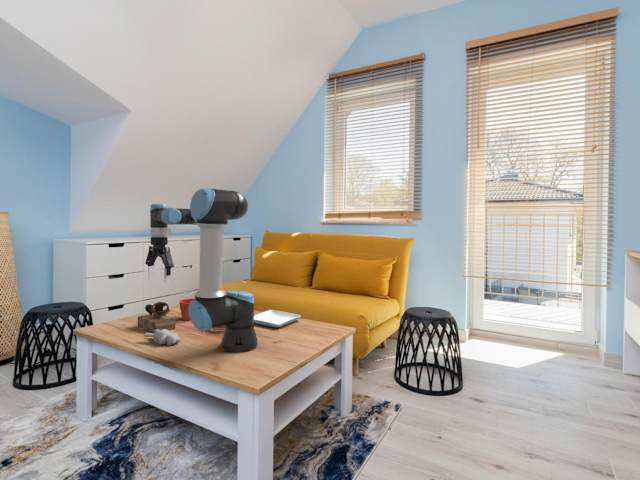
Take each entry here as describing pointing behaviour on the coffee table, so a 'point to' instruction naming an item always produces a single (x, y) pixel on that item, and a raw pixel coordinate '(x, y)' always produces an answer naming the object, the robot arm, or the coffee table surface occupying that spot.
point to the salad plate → (275, 318)
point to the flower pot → (185, 308)
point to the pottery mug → (157, 309)
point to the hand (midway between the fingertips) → (159, 280)
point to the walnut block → (156, 323)
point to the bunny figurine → (164, 337)
